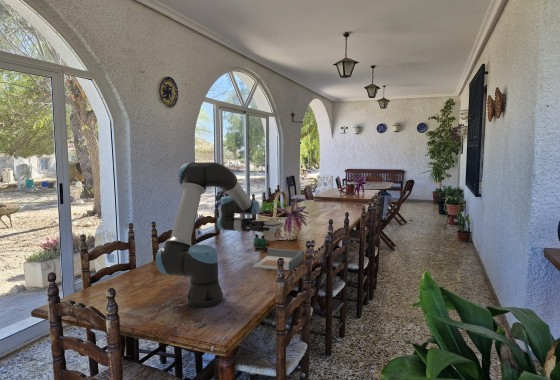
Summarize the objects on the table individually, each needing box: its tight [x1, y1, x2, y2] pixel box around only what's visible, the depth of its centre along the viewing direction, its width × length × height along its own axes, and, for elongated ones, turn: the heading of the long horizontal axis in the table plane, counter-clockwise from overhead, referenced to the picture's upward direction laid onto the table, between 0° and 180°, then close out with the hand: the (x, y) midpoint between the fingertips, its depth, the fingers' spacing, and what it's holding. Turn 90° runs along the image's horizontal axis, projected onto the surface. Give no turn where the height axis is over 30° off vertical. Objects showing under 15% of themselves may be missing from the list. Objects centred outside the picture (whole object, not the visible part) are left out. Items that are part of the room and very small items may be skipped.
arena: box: [252, 247, 305, 272], centre depth 212 cm, size 22×22×5 cm
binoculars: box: [253, 233, 271, 253], centre depth 239 cm, size 9×11×10 cm
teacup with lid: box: [263, 217, 281, 242], centre depth 208 cm, size 12×9×12 cm
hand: (279, 226), depth 207 cm, fingers closed on teacup with lid, 12 cm apart
